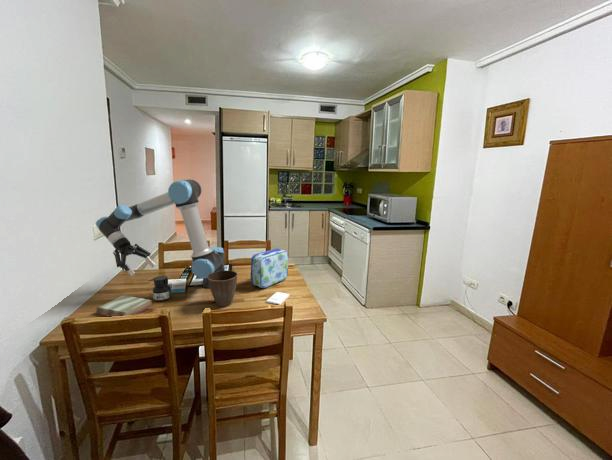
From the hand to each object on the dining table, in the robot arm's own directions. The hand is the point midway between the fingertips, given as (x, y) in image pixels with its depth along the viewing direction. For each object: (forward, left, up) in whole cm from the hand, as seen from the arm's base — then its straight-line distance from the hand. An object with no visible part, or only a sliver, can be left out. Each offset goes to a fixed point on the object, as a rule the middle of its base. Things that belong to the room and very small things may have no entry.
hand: (144, 270), depth 156 cm
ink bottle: (-11, 0, -15) cm, 19 cm away
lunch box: (-57, -39, -15) cm, 71 cm away
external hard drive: (-71, -19, -16) cm, 75 cm away
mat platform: (-3, +16, -15) cm, 22 cm away
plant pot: (-46, -5, -15) cm, 49 cm away
